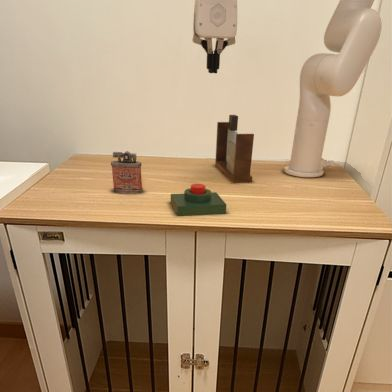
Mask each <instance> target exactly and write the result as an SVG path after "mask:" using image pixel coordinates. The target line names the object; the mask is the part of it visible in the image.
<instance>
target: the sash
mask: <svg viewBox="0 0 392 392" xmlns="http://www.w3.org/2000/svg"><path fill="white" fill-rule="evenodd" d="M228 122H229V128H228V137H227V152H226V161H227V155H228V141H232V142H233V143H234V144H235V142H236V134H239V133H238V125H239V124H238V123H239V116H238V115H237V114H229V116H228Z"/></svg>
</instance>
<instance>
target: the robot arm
mask: <svg viewBox="0 0 392 392" xmlns="http://www.w3.org/2000/svg"><path fill="white" fill-rule="evenodd" d="M374 2H375V0H339V1H338V4H337V6H336V7H335V9H334V11H333V14H332V16H331V18H330V19H329V22H328V23H327V26H326V28H325V31H324V34H323V43H324V44H323V45H324V46H325V48H326V49H327V50H328V51H330V52H333V53H323V52H321V53H315V54H313V55H311V56H310V57H308V58H307V59H306V60H305V62H303V65H302V66H301V69H300V73H299V100H298V108H297V109H298V110H297V116H296V122H295V129H294V135H293V143H292V147H291V154H290V161H289V165H286V166H284V169H283V171H284V173H285V174H287V175H290V176H293V177H299V178H320V177H322V176H324V173H325V170H324V169H325V168H333V167H334V166H335V163H336V162H335V160H328V159H325V158H323V152H324V147H325V141H326V138H327V137H326V136H327V132H328V126H329V121H330V117H331V107H332V106H331V105H332V103H331V97H343V96H345V95H347V94H349V93H350V92H351V91H352V90H353V89H354V87H355V86H356V84H357V82H358V80H359V79H360V77H361V75H362V73H363V72H364V71H365V70H364V69H365V68H366V66H367V65H368V62H369V60H370V59H371V57H372V55H373V53H374V51H375V49H376V47H377V45H378V42H379V40H380V37H381V32H382V17H381V15H380V13H379V12H378V11H377V10H375V9H373V8H372V7H373V4H374ZM192 31H193V35H192V43H193V44H195V45H199V46H201V47H202V49H203V50H204V51H205V53H206V69H207V70H208V71H207V72H208V73H209V74H218V70H220V64H221V62H220V61H221V54H222V53H223V51H224V50H225V49H226V47H229V46H233V45H235V44H236V36H237V31H238V0H194V7H193V21H192ZM213 39H215V45H214V48H213ZM213 49H214V50H213ZM335 53H336V54H335Z"/></svg>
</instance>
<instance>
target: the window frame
mask: <svg viewBox="0 0 392 392" xmlns="http://www.w3.org/2000/svg"><path fill="white" fill-rule="evenodd" d="M228 128H229V121H217V124H216V143H215V159H214V160H215V163H214V165H215V167H216V168H217V169H218V170H219V171H221V173H223V174H224V176H226V178H228V179H229V180H230V181H231V182H232V183H233V184H243V183H244V184H245V183H247V184H248V183H252V182H253V176H252V175H251V170H252V169H251V168H252V161H253V158H252V157H253V148H254V141H255V140H254V138H255V134H254V133H237V134H236V142H235V144H234V143H233V142H232V141H228V155H227V161H226V152H227V137H228Z"/></svg>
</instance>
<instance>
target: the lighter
mask: <svg viewBox="0 0 392 392" xmlns="http://www.w3.org/2000/svg"><path fill="white" fill-rule="evenodd" d="M112 158H113V159H117V160H111V161H110V166H111V173H112V184H113V187H112V190H113V193H118V194H143V193H144V190H143V183H142V181H143V179H142V161H137V153H135V152H133V153H132V152H130V151H129V150H126V151H125V152H122V151H113V152H112Z"/></svg>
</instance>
